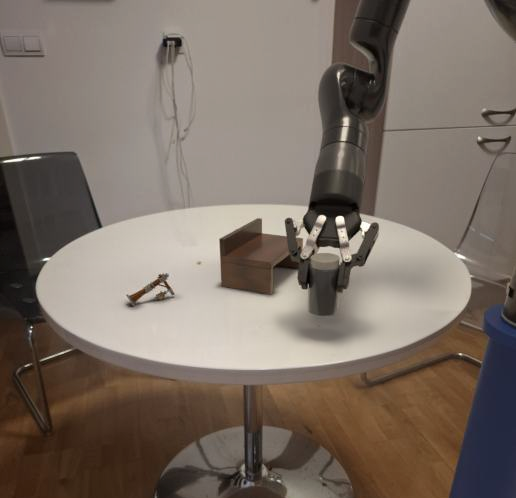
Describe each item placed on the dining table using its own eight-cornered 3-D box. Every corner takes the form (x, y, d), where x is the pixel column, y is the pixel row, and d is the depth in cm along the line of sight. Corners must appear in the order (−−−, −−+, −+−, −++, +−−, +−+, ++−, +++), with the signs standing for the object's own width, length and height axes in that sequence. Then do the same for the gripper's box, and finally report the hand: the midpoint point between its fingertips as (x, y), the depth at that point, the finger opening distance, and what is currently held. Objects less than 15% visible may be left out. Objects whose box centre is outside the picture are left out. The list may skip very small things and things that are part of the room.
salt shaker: (341, 306, 73) (345, 254, 69) (332, 318, 69) (335, 264, 65) (313, 302, 74) (315, 251, 71) (303, 313, 71) (304, 260, 67)
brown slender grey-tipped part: (180, 292, 86) (167, 271, 83) (141, 317, 85) (127, 297, 82) (176, 289, 88) (164, 268, 85) (138, 313, 86) (125, 293, 84)
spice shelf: (302, 267, 100) (303, 223, 96) (270, 294, 88) (270, 245, 83) (257, 260, 104) (257, 218, 100) (221, 286, 91) (219, 238, 87)
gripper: (287, 166, 71) (267, 273, 66) (388, 168, 68) (374, 282, 63) (294, 196, 78) (276, 295, 73) (386, 199, 75) (373, 304, 70)
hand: (321, 288), depth 68 cm, fingers closed on salt shaker, 4 cm apart
